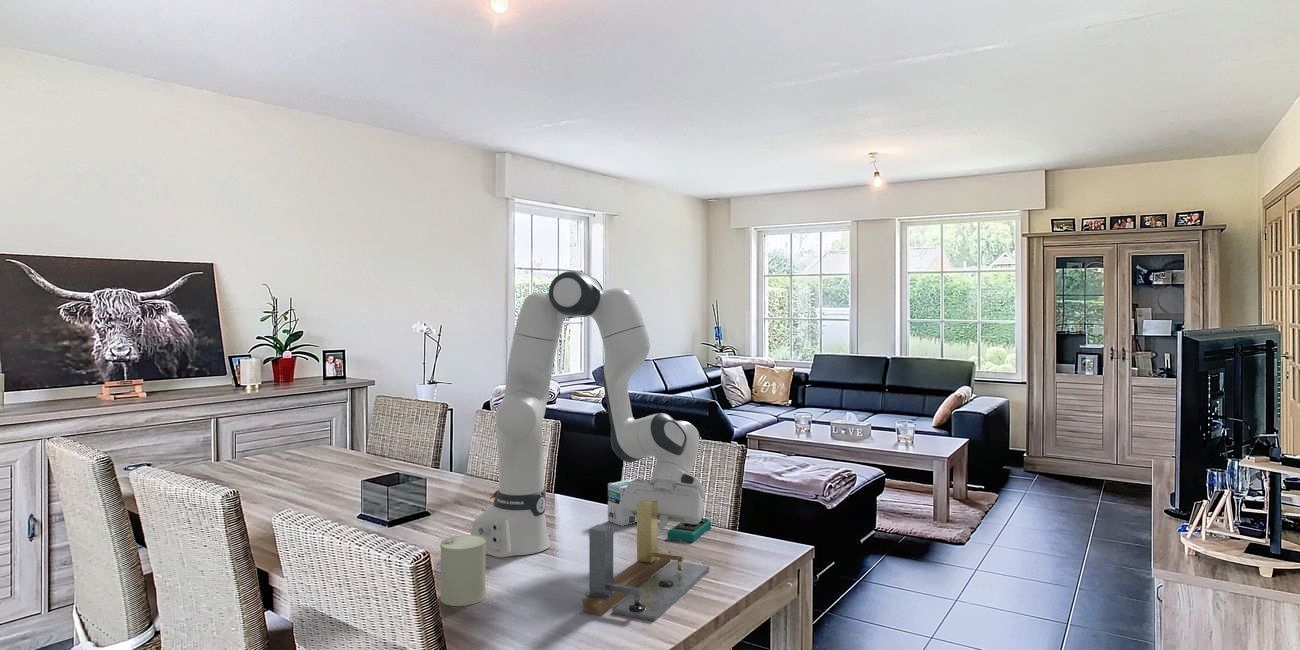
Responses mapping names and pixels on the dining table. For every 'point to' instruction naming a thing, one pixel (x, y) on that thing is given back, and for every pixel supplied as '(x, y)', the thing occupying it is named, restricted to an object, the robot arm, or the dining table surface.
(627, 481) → the light bulb box
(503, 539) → the robot arm
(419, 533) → the dining table surface
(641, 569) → the rail
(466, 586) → the can
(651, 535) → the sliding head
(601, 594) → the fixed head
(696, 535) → the digital multimeter
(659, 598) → the hole plate
